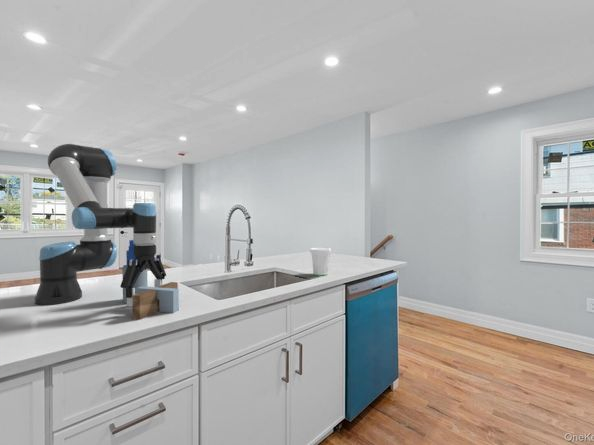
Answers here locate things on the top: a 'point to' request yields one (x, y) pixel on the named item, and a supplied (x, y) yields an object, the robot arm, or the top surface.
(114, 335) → the top surface
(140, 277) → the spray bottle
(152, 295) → the slotted stand
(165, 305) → the slotted plate
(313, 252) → the cup
